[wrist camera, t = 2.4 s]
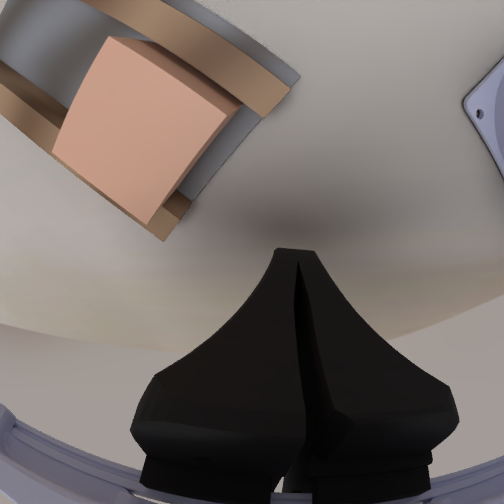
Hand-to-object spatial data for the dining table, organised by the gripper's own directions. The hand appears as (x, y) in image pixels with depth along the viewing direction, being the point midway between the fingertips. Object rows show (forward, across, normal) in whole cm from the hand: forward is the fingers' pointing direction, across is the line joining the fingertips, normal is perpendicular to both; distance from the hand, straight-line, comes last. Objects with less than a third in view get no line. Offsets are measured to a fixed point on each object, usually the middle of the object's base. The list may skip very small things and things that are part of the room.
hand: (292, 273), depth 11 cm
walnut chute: (+5, +10, -8) cm, 14 cm away
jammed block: (+5, +6, -4) cm, 9 cm away
